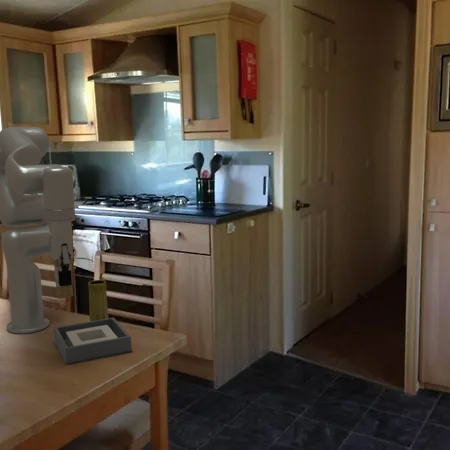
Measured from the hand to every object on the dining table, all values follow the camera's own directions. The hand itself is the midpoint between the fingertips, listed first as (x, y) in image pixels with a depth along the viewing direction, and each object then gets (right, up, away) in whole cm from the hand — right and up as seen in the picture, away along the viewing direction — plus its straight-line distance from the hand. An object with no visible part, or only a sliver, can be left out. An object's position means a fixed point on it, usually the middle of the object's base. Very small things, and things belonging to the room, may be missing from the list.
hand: (64, 282), depth 143 cm
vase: (+3, -17, +27) cm, 32 cm away
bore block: (+5, -19, +10) cm, 22 cm away
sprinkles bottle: (0, -4, +1) cm, 4 cm away
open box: (+5, -19, +10) cm, 22 cm away
